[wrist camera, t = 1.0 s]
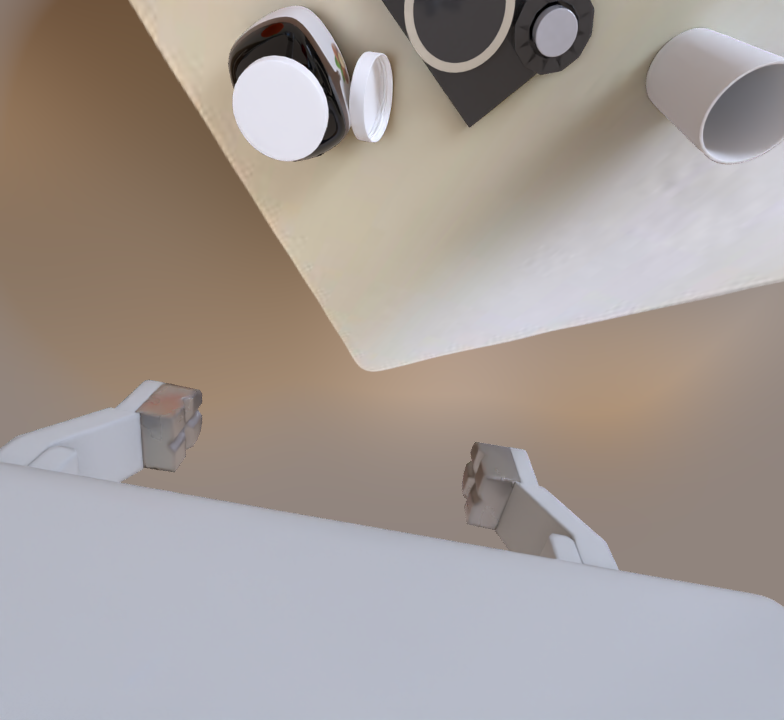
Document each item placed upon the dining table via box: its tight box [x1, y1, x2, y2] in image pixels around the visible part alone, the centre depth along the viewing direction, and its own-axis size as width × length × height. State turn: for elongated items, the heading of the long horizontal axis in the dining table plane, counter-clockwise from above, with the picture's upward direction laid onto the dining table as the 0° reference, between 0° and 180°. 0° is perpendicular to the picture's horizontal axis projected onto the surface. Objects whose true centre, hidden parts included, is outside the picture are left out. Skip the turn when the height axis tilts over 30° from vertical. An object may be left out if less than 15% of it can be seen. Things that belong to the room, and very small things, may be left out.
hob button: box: [532, 5, 578, 57], centre depth 37 cm, size 3×3×2 cm
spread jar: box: [228, 6, 393, 161], centre depth 38 cm, size 12×11×12 cm
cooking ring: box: [404, 0, 515, 73], centre depth 36 cm, size 9×9×1 cm
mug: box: [646, 28, 784, 164], centre depth 36 cm, size 10×7×12 cm, turn 102°
